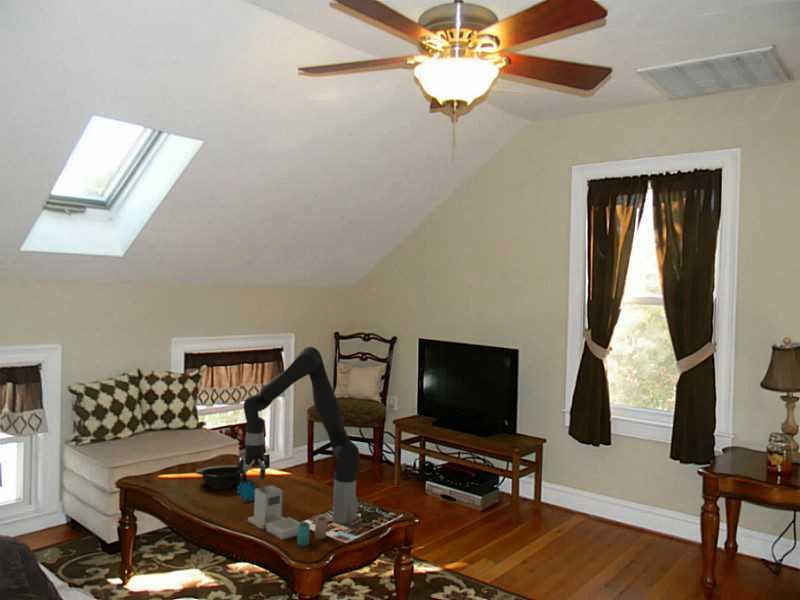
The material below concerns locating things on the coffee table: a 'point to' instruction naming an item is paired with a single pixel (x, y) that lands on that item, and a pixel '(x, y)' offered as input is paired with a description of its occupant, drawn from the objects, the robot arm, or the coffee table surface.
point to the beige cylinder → (320, 527)
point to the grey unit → (267, 506)
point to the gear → (246, 491)
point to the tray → (283, 528)
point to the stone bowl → (220, 476)
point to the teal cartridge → (303, 534)
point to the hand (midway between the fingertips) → (253, 480)
